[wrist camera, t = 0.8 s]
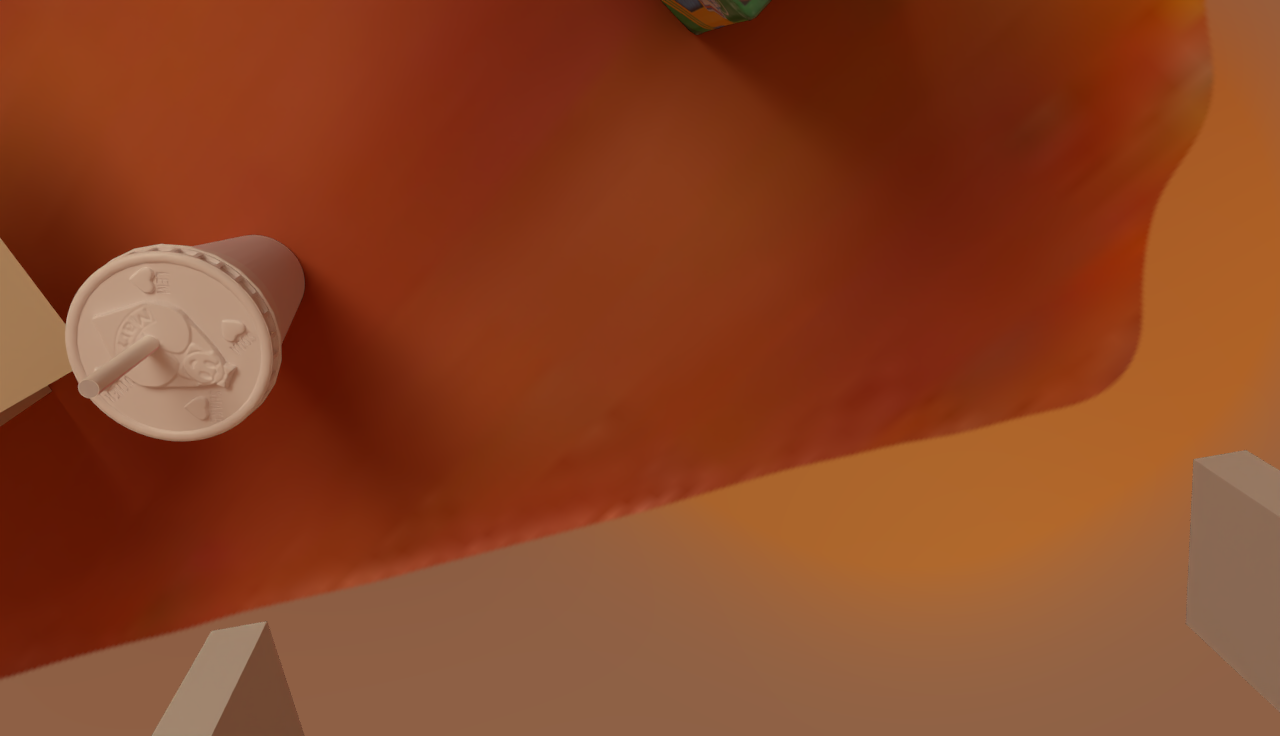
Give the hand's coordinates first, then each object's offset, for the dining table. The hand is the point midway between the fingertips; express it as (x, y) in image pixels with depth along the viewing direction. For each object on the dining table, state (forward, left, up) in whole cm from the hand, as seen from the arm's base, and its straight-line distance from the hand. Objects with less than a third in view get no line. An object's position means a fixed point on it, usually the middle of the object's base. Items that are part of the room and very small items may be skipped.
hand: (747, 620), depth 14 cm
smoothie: (-6, -14, -28) cm, 32 cm away
